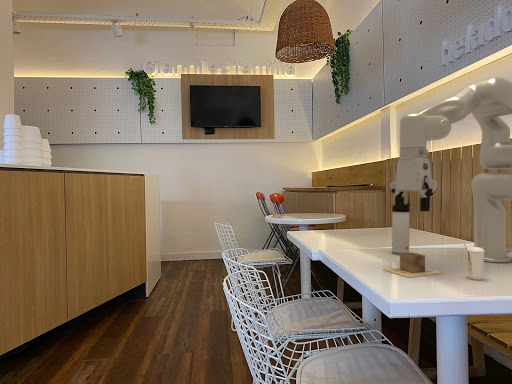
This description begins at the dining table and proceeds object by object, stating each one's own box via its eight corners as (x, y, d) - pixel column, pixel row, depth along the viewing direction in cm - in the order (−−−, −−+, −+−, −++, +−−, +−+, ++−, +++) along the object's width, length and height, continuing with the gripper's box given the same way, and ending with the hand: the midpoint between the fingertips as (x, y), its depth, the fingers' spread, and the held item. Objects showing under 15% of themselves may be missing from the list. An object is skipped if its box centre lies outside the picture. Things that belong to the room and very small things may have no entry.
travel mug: (412, 255, 129) (412, 203, 129) (393, 255, 131) (394, 203, 130) (408, 252, 135) (408, 203, 135) (390, 252, 137) (390, 202, 136)
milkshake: (459, 276, 99) (459, 242, 99) (478, 276, 99) (478, 242, 99) (468, 280, 94) (469, 245, 94) (488, 280, 94) (488, 245, 94)
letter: (415, 266, 112) (415, 265, 112) (442, 273, 102) (442, 272, 102) (382, 270, 106) (382, 269, 106) (408, 277, 97) (408, 276, 97)
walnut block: (411, 268, 108) (411, 252, 108) (425, 271, 103) (425, 255, 103) (399, 269, 106) (400, 253, 106) (412, 273, 101) (412, 256, 101)
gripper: (446, 152, 97) (445, 212, 97) (400, 158, 113) (399, 208, 113) (427, 151, 95) (426, 212, 95) (382, 156, 111) (381, 208, 111)
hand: (411, 210), depth 104 cm, fingers open, 9 cm apart
